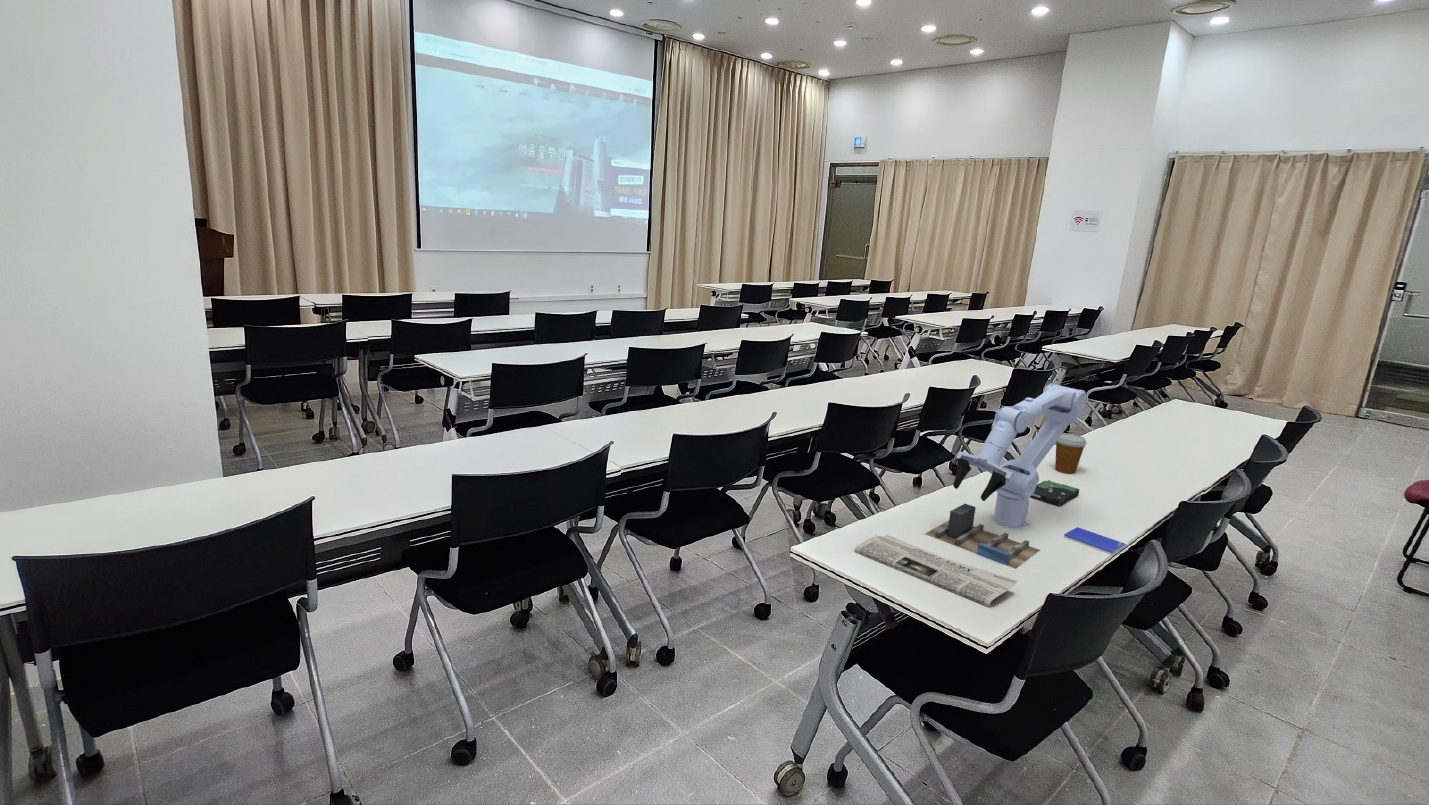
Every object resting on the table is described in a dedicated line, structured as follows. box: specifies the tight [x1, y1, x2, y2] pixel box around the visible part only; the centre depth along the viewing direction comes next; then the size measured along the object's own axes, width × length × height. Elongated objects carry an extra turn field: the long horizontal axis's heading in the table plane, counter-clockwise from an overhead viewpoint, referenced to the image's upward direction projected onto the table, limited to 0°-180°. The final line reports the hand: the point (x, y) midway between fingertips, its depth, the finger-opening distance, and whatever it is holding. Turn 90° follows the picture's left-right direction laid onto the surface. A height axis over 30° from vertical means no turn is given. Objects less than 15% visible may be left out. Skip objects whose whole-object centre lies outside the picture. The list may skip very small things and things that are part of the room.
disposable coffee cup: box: [1054, 432, 1087, 475], centre depth 238 cm, size 10×10×12 cm
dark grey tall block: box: [947, 503, 977, 539], centre depth 183 cm, size 8×3×7 cm, turn 135°
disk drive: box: [1028, 479, 1080, 508], centre depth 216 cm, size 10×3×15 cm
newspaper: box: [854, 534, 1018, 609], centre depth 165 cm, size 35×12×4 cm, turn 46°
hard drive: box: [1063, 526, 1127, 556], centre depth 185 cm, size 2×8×12 cm
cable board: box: [924, 520, 1041, 569], centre depth 180 cm, size 15×24×3 cm, turn 45°
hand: (968, 493), depth 178 cm, fingers open, 7 cm apart
